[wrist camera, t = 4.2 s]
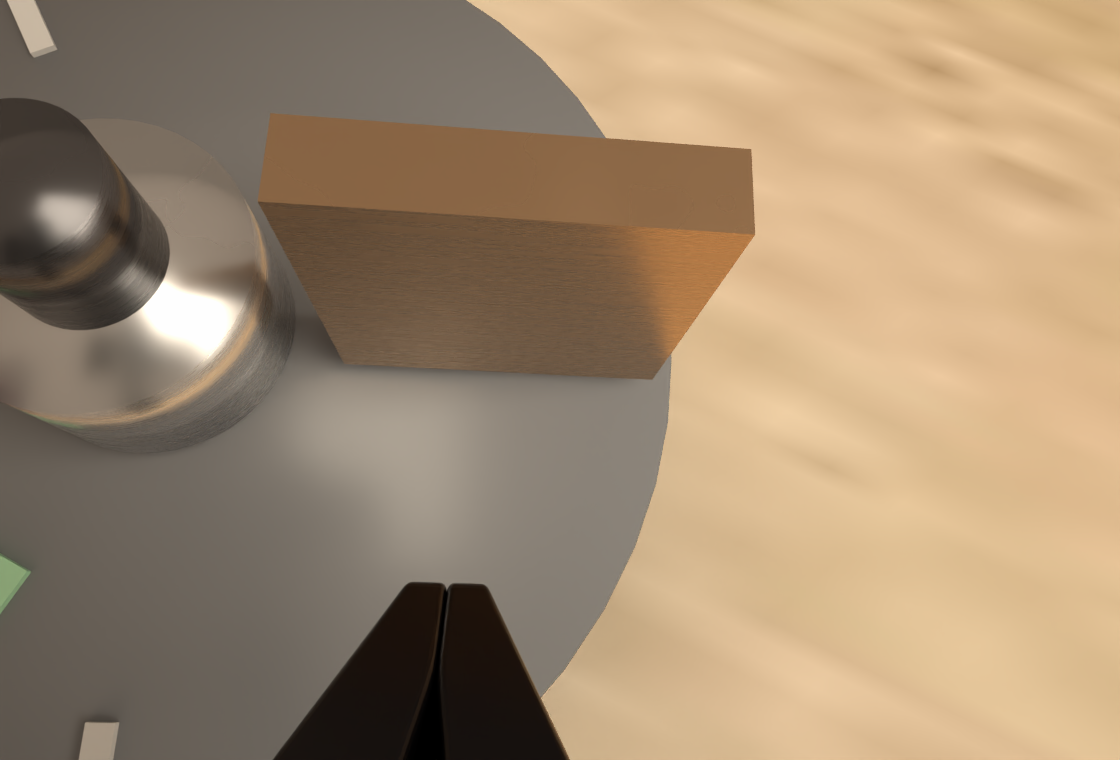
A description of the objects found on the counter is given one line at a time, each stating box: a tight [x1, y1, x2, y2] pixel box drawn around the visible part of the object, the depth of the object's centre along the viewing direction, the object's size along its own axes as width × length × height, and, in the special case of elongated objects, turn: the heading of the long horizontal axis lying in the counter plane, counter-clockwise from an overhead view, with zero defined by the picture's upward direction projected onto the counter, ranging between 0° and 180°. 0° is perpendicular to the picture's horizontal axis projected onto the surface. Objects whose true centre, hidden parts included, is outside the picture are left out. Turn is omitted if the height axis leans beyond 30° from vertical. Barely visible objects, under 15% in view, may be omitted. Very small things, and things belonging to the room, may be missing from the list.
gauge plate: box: [0, 0, 671, 760], centre depth 17 cm, size 20×20×1 cm
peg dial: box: [0, 98, 755, 453], centre depth 13 cm, size 20×5×6 cm, turn 88°
